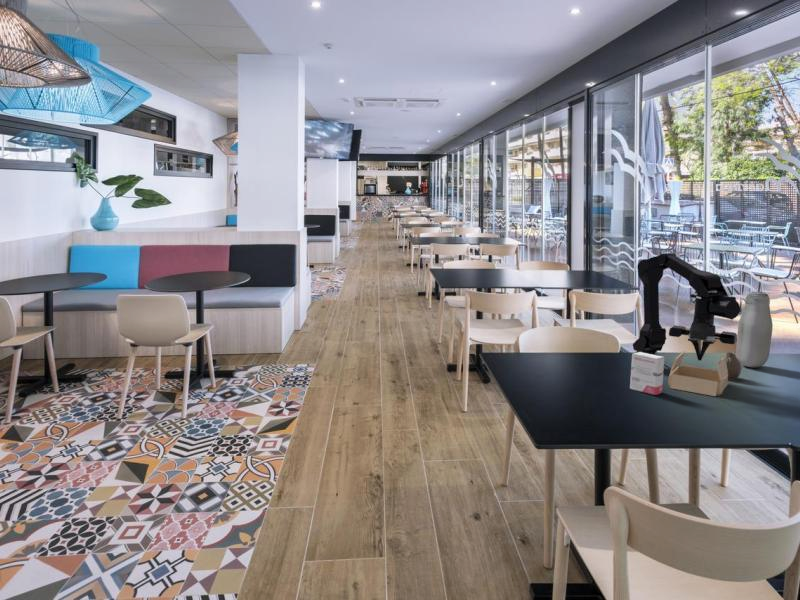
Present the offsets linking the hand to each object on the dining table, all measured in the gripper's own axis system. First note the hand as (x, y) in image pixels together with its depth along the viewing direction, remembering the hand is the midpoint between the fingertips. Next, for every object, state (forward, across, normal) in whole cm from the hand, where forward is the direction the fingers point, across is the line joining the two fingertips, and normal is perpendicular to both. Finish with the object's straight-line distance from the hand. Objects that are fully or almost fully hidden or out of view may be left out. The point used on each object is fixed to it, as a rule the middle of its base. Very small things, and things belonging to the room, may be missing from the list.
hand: (699, 360), depth 178 cm
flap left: (+4, -7, 0) cm, 8 cm away
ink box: (+9, -12, -16) cm, 22 cm away
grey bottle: (+9, +11, +38) cm, 40 cm away
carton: (+9, 0, 0) cm, 9 cm away
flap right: (+4, +7, 0) cm, 9 cm away
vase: (+9, +7, +16) cm, 20 cm away
